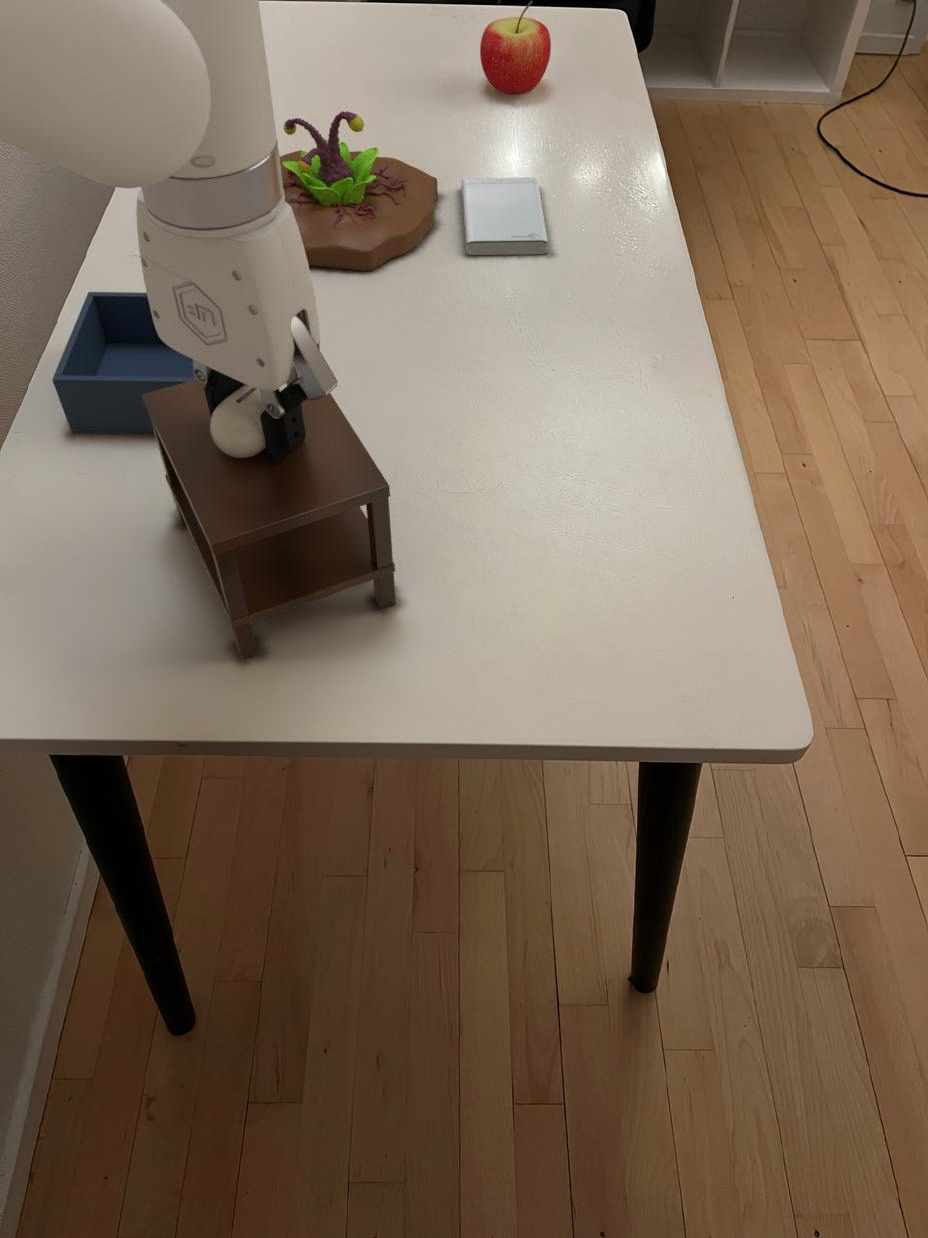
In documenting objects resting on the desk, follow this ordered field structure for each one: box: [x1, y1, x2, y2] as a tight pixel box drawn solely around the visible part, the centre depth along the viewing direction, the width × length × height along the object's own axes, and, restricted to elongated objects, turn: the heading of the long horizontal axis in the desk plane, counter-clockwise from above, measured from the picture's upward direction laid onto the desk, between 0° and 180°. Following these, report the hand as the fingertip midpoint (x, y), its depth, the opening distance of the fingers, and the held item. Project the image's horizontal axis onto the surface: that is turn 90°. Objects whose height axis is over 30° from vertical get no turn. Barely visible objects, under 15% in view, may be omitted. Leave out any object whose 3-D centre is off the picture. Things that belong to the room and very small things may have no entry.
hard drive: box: [461, 177, 549, 256], centre depth 110 cm, size 2×8×12 cm
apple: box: [479, 0, 552, 96], centre depth 126 cm, size 8×8×10 cm
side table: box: [142, 379, 397, 660], centre depth 76 cm, size 12×16×12 cm
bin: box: [51, 291, 196, 435], centre depth 91 cm, size 12×12×6 cm
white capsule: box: [210, 383, 287, 458], centre depth 70 cm, size 7×4×4 cm, turn 146°
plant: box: [280, 110, 439, 272], centre depth 107 cm, size 20×20×11 cm
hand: (260, 434), depth 71 cm, fingers closed on white capsule, 4 cm apart
